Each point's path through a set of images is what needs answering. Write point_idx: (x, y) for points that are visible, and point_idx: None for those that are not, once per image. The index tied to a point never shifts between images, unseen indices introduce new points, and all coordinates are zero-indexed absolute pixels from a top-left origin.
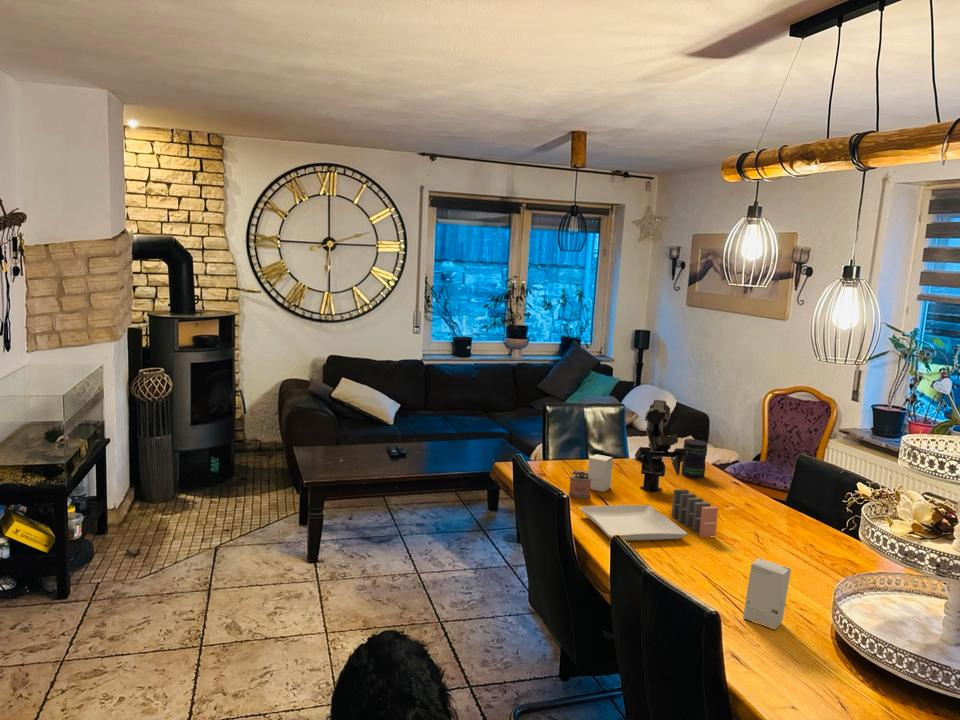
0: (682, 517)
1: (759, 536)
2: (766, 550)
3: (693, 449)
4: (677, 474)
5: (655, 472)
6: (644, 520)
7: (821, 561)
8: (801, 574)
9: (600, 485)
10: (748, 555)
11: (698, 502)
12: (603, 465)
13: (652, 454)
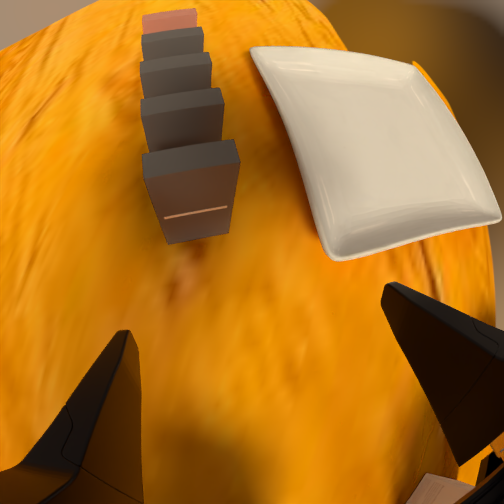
0: None
1: (31, 117)
2: (80, 56)
3: None
4: (136, 349)
5: (393, 283)
6: (346, 174)
7: (29, 51)
8: (101, 11)
9: (447, 479)
10: (136, 33)
11: (186, 35)
12: None
13: (501, 481)
